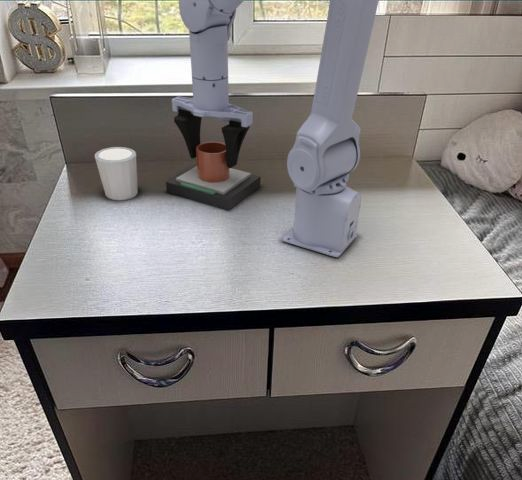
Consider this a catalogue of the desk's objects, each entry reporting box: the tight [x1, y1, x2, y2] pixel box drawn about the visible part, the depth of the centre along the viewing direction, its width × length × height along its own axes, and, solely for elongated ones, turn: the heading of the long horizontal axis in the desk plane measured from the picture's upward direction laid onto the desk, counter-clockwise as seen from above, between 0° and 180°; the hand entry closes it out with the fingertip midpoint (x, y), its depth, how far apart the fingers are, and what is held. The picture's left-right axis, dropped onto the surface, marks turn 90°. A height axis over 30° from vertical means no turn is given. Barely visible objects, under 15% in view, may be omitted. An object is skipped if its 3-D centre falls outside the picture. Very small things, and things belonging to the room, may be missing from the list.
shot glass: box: [94, 146, 139, 201], centre depth 90 cm, size 7×7×7 cm
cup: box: [196, 141, 230, 182], centre depth 91 cm, size 6×6×5 cm
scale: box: [165, 163, 261, 211], centre depth 94 cm, size 13×11×3 cm
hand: (213, 161), depth 91 cm, fingers open, 7 cm apart
